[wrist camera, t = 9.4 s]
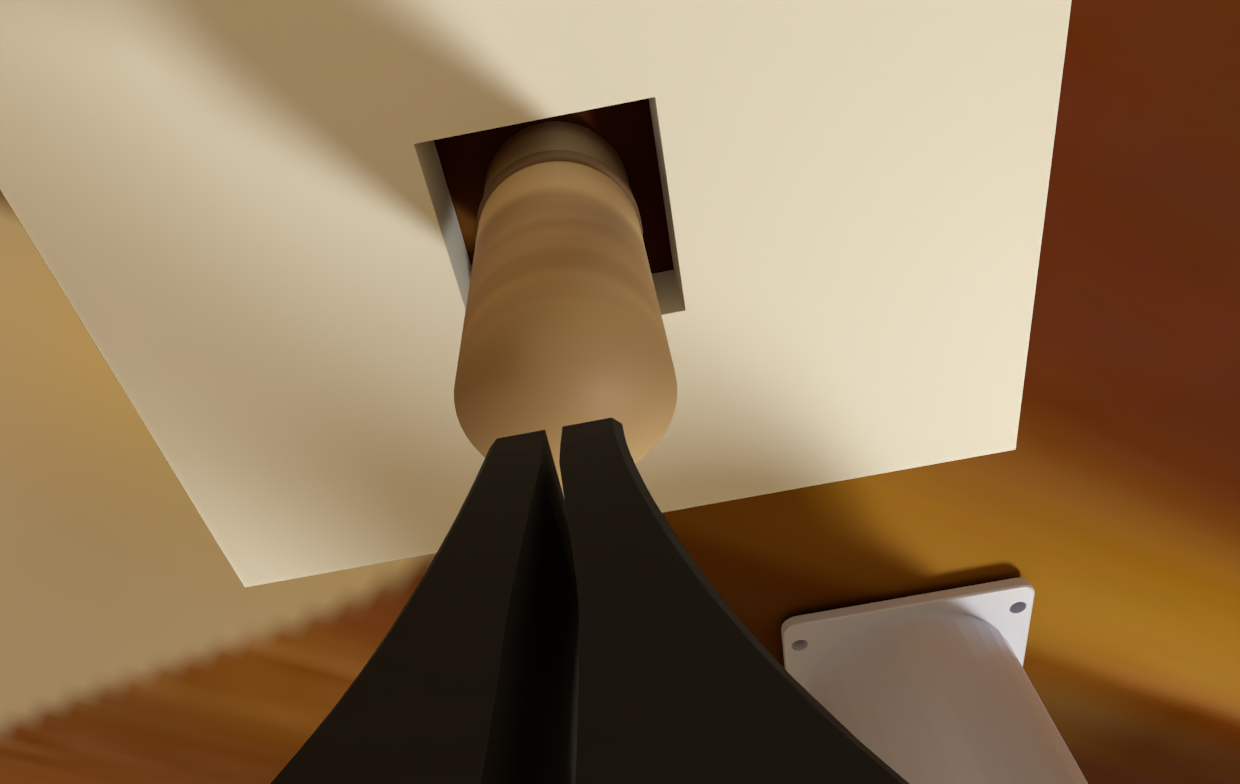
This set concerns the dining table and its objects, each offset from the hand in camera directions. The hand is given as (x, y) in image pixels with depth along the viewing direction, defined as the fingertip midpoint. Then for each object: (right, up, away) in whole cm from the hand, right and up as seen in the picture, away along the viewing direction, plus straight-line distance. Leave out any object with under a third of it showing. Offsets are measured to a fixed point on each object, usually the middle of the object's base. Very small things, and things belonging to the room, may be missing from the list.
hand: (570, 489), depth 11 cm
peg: (-1, +6, +8) cm, 10 cm away
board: (-1, +6, +8) cm, 10 cm away
